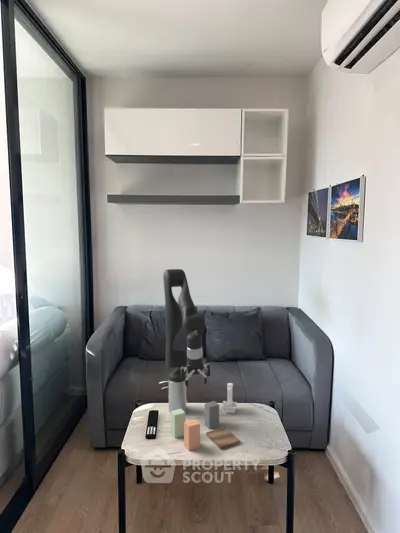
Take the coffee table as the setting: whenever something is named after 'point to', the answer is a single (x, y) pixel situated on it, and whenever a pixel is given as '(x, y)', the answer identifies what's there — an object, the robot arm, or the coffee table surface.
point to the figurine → (229, 401)
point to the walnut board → (222, 438)
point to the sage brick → (177, 423)
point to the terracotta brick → (192, 434)
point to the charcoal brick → (211, 414)
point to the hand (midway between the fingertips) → (195, 384)
